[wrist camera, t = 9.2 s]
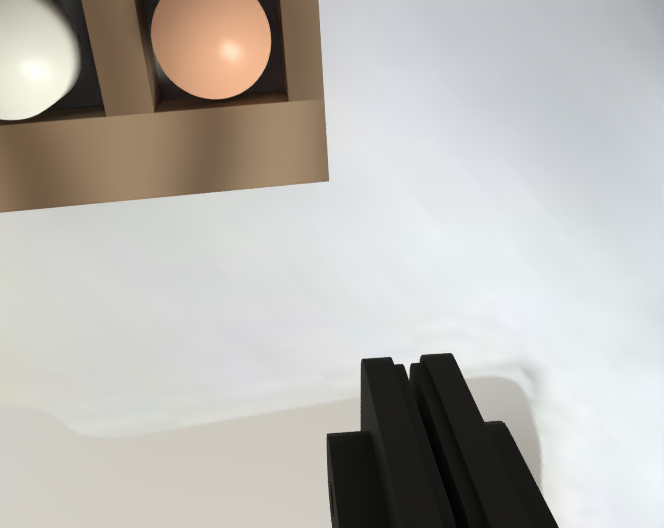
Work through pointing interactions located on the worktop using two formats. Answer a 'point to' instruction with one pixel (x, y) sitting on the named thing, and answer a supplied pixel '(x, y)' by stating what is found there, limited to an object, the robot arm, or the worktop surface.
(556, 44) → the worktop surface
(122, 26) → the button panel
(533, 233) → the worktop surface
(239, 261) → the worktop surface
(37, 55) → the white dome
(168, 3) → the button terracotta
